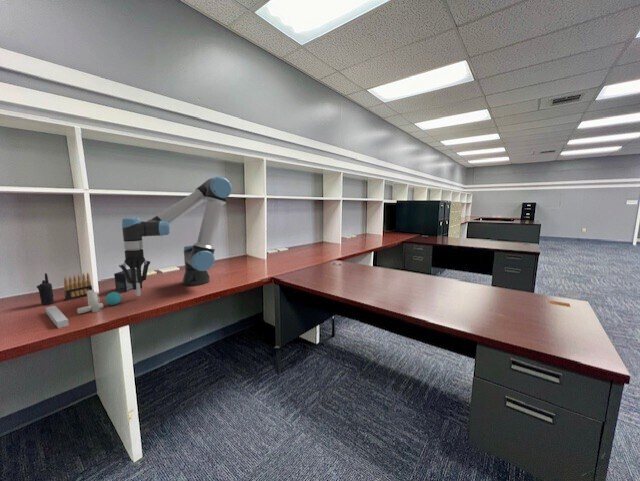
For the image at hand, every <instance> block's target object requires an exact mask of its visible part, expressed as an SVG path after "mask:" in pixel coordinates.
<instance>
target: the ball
mask: <svg viewBox="0 0 640 481" xmlns="http://www.w3.org/2000/svg"><path fill="white" fill-rule="evenodd" d="M121 301H122V295H121V294H120V292H116V291H111V292H110V293H108V294H106V296H105V302H106V303H107V304H108V305H109V306H115V305H118V304H119V303H120V302H121Z"/></svg>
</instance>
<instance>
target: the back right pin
mask: <svg viewBox="0 0 640 481" xmlns="http://www.w3.org/2000/svg"><path fill="white" fill-rule="evenodd" d="M92 292H95V290H94V289H92V290H88V291H87V296H86V297H87V304H88V305H87V306H91V298H90V293H92Z"/></svg>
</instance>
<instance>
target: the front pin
mask: <svg viewBox="0 0 640 481" xmlns="http://www.w3.org/2000/svg"><path fill="white" fill-rule="evenodd" d="M98 304H99V310H101V309H103V308H104V303H103V302H100V303H99V302H98ZM76 312H77V314H78V315H80V314H83V313H87V312H92V307H91V306H88V305H87V306H86V305H85V306H82V307H78V308H77V309H76Z"/></svg>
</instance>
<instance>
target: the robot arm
mask: <svg viewBox="0 0 640 481" xmlns="http://www.w3.org/2000/svg"><path fill="white" fill-rule="evenodd" d="M232 191H233V186H232V183H231V182H230V181H229V179H227V178H225V177H224V176H215V177H212V178H209V179H206V180H205V181H204V182H203V183H202V184H200V185H199V186H197V187H196V188H195V190H194V192H192V193H191V194H189V195H187V196H186V197H184V198H182V199H181V200H179V201H178V202H176V203H175V204H173V205H172V206H170V207H168V208H167V209H165V210H163V211H161V212H160V213H159V214H157V215H156V216H154V217H153V218H151V219H148V220H147V221H142V219H141V217H124V218H123V219H122V220H121V230H122V239H123V246H124V260H123V261H124V262H123V263H122V264H118V267H119V268H120V269H121V270H122V271H123V273H124V275H125V278H126V280H127V282H128V283H132V288H133V289H132V290H133V291H134V294H135V296H136V297H139V296H142V294H141V289H142V288H143V282H145V281H146V280H147V277H148V276H147V275H148V270H149V266H150V265H151V261H150V260H147V259H146V258H145V254H144V249H143V248H144V244H143V237H159V236H161V237H163V236H169V235H170V225H171V224H173V223H174V222H175V221H177V220H178V219H180V218H182V217H183V216H185V215H186V214H188V213H189V212H190V211H192V210H194V209H195V208H197V207H198V206H200V205H202V204H203V203H206V205H205V209H204V213H203V216H202V220H201V223H200V227H199V228H200V230H199V233H198V235H197V236H198V237H197V241H196V242H195V243H193V245H185V246H184V247H183V258H184V261H183V262H184V274H183V276H182V277H183V278H182V284H183V285H184V286H199V285H205V284H207V283H209V282H210V281H211V280H210V279H211V277H210V275H209V272H208V270H210V269H212V267H213V266H214V264H215V260H216V259H215V255H214V254H215V251H216V249H215V246H214V242H215V239H216V235H217V230H218V225H219V223H220V218H221V215H222V214H221V213H222V209H223V206H224V205H226V204H227V200H228V197H229V196H230V195H231V193H232ZM127 267H128V268H129V269H130V271H131V278H130V276H129V273H128V271H127ZM142 267H143V268H142ZM135 269H136V270H137V281H138V282H136V274H135Z"/></svg>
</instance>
